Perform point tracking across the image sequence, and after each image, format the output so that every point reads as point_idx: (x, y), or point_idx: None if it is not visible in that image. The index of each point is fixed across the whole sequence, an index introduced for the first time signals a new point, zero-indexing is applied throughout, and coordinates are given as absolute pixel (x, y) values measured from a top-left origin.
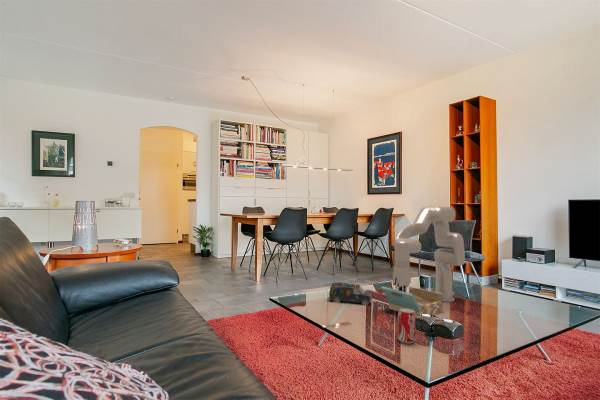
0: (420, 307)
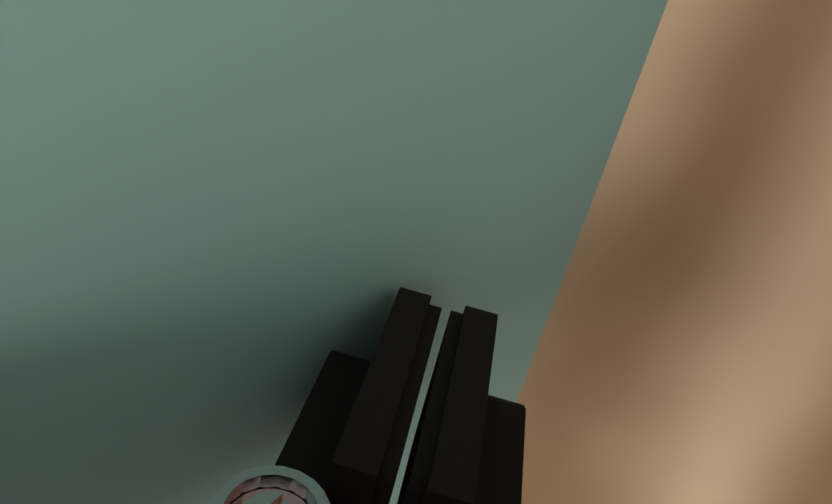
0: (788, 469)
